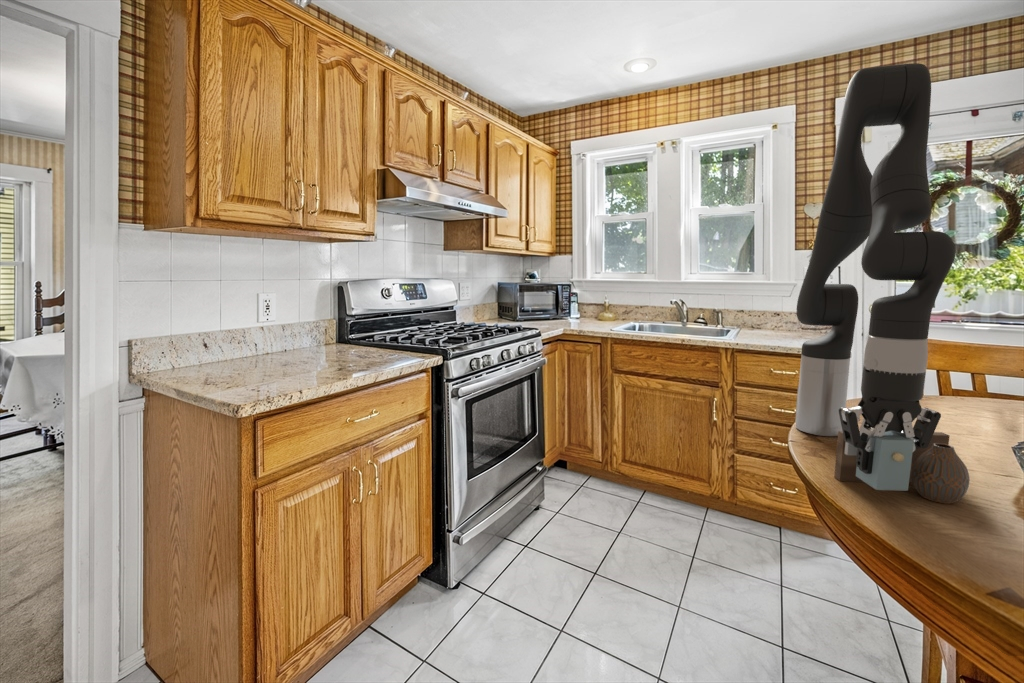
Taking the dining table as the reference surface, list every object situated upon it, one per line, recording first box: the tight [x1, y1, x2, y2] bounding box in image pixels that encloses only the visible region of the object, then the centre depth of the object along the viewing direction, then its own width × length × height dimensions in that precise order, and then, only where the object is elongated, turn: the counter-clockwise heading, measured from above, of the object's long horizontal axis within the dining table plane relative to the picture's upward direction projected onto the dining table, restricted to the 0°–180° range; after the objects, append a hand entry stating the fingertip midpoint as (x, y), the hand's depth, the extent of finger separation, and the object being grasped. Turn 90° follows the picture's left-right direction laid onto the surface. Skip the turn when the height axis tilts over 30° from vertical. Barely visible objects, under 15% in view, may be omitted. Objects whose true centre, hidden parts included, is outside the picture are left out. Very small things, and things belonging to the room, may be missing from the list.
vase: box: [911, 443, 970, 504], centre depth 76 cm, size 7×7×9 cm
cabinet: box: [844, 428, 914, 492], centre depth 77 cm, size 9×5×8 cm, turn 176°
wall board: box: [833, 431, 950, 484], centre depth 83 cm, size 2×17×8 cm, turn 86°
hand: (882, 471), depth 76 cm, fingers closed on cabinet, 4 cm apart
